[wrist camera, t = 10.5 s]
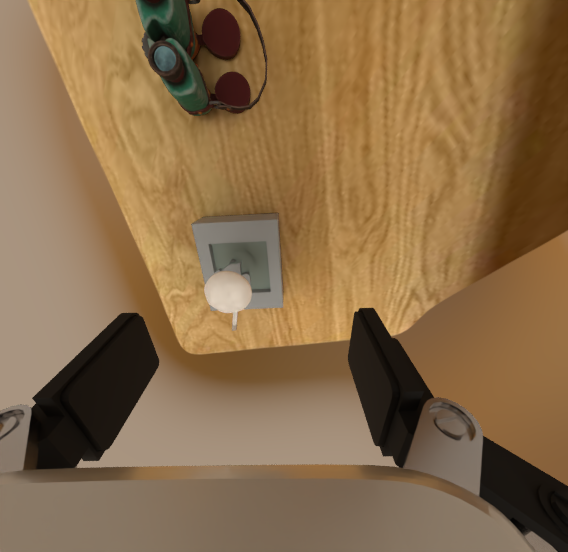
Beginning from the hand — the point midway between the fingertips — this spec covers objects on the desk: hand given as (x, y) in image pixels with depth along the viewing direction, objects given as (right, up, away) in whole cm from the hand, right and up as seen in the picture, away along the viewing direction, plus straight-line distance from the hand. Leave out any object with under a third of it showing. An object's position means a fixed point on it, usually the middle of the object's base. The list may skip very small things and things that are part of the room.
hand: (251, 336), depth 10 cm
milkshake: (-4, +4, +20) cm, 20 cm away
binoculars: (-5, +24, +14) cm, 28 cm away
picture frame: (-4, +5, +22) cm, 23 cm away
